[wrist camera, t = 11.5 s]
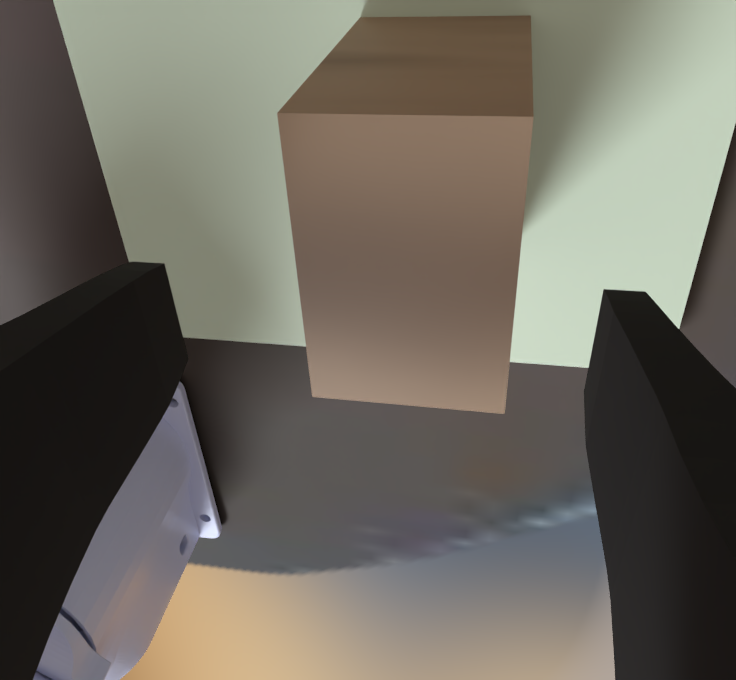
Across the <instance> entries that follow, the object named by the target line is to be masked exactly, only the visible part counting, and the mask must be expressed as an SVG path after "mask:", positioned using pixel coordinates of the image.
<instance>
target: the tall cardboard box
mask: <svg viewBox="0 0 736 680" xmlns="http://www.w3.org/2000/svg"><path fill="white" fill-rule="evenodd" d="M277 117H278V125H279V133H280V141H281V149H282V157H283V165H284V173H285V181H286V189H287V197H288V205H289V213H290V221H291V229H292V237H293V245H294V253H295V261H296V270H297V278H298V286H299V294H300V302H301V310H302V318H303V326H304V334H305V342H306V350H307V358H308V366H309V374H310V382H311V390H312V397H320V398H331V399H342V400H353V401H365V402H376V403H387V404H399V405H410V406H421V407H432V408H444V409H455V410H466V411H478V412H489V413H500V414H505V404H506V394H507V384H508V373H509V363H510V353H511V343H512V333H513V322H514V312H515V302H516V292H517V281H518V271H519V261H520V251H521V241H522V230H523V220H524V210H525V200H526V190H527V179H528V169H529V159H530V149H531V139H532V128H533V118H534V112H533V77H532V41H531V16H437V17H360V18H359V19H358V21H357V22H356V23H355V24H354V25H353V26H352V27H351V29H350V30H349V31H348V32H347V33H346V34H345V35H344V37H343V38H342V39H341V40H340V41H339V42H338V44H337V45H336V46H335V47H334V48H333V49H332V50H331V52H330V53H329V54H328V55H327V56H326V57H325V59H324V60H323V61H322V62H321V63H320V64H319V65H318V67H317V68H316V69H315V70H314V71H313V72H312V73H311V75H310V76H309V77H308V78H307V79H306V80H305V82H304V83H303V84H302V85H301V86H300V87H299V88H298V90H297V91H296V92H295V93H294V94H293V95H292V96H291V98H290V99H289V100H288V101H287V102H286V103H285V105H284V106H283V107H282V108H281V109H280V110H279V111H278V113H277Z"/></svg>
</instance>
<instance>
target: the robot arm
mask: <svg viewBox="0 0 736 680" xmlns="http://www.w3.org/2000/svg"><path fill="white" fill-rule="evenodd" d="M187 361H188V355H187V351H186V347H185V343H184V339H183V335H182V331H181V327H180V323H179V319H178V315H177V311H176V307H175V303H174V299H173V295H172V291H171V287H170V283H169V279H168V275H167V271H166V267H165V263H149V262H129V263H126V264H124V265H121V266H119V267H116V268H114V269H112V270H110V271H107V272H105V273H103V274H101V275H99V276H97V277H95V278H93V279H91V280H89V281H87V282H85V283H83V284H81V285H79V286H77V287H75V288H73V289H72V290H70V291H68V292H66V293H64V294H62V295H60V296H58V297H56V298H54V299H52V300H50V301H48V302H46V303H44V304H42V305H41V306H39V307H37V308H35V309H33V310H31V311H29V312H27V313H25V314H23V315H21V316H19V317H17V318H15V319H13V320H11V321H9V322H7V323H4V324H2V325H0V680H120V679H121V678H122V677H123V676H124V675H126V674H127V673H128V672H129V671H130V670H131V669H132V668H133V667H134V666H135V664H136V663H137V662H138V661H139V660H140V659H141V657H142V656H143V655H144V653H145V652H146V650H147V648H148V647H149V645H150V643H151V641H152V638H153V636H154V634H155V632H156V630H157V628H158V625H159V623H160V621H161V619H162V617H163V615H164V612H165V610H166V608H167V606H168V603H169V602H170V599H171V597H172V595H173V593H174V591H175V588H176V586H177V584H178V582H179V580H180V577H181V575H182V573H183V571H184V569H185V567H186V565H187V562H188V560H189V558H190V556H191V554H192V552H193V549H194V547H195V545H196V543H197V541H198V538H199V537H204V538H217V537H219V535H220V533H221V531H222V525H221V522H220V518H219V514H218V510H217V507H216V503H215V499H214V496H213V492H212V488H211V484H210V481H209V477H208V473H207V469H206V466H205V462H204V458H203V455H202V451H201V447H200V443H199V440H198V436H197V432H196V428H195V425H194V421H193V417H192V414H191V410H190V406H189V402H188V399H187V395H186V391H185V388H184V386H183V384H182V383H181V382H180V379H181V376H182V374H183V371H184V368H185V366H186V363H187ZM172 398H174V399H175V400H177V401H175V400H173V399H172ZM584 407H585V436H586V450H587V456H588V462H589V468H590V474H591V480H592V486H593V492H594V498H595V504H596V509H597V515H598V521H599V527H600V533H601V538H602V544H603V550H604V555H605V561H606V567H607V574H608V582H609V590H610V599H611V613H612V630H613V645H614V660H615V680H736V388H735V387H734V386H733V385H732V384H731V383H729V382H728V381H727V380H726V379H725V378H724V377H723V376H722V375H721V374H720V373H719V372H718V371H717V370H716V369H715V368H714V367H713V366H712V365H711V364H710V362H709V361H708V360H707V359H706V358H705V357H704V356H703V355H702V354H701V353H700V352H699V351H698V350H697V349H696V348H695V347H694V345H693V344H692V343H691V342H690V341H689V340H688V339H687V338H686V337H685V336H684V334H683V333H682V332H681V331H680V330H679V329H678V328H677V327H676V325H675V324H674V323H673V322H672V321H671V320H670V319H669V317H668V316H667V315H666V314H665V313H664V312H663V311H662V309H661V308H660V307H659V306H658V305H657V304H656V303H655V301H654V300H653V299H652V298H651V297H650V296H649V295H648V294H647V293H646V292H644V291H627V290H610V289H604V290H603V295H602V300H601V305H600V311H599V316H598V321H597V326H596V332H595V337H594V342H593V347H592V352H591V358H590V363H589V368H588V373H587V379H586V384H585V389H584Z"/></svg>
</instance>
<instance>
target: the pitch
mask: <svg viewBox="0 0 736 680" xmlns="http://www.w3.org/2000/svg"><path fill="white" fill-rule="evenodd" d="M53 2H54V5H55V9H56V12H57V16H58V19H59V22H60V26H61V29H62V33H63V36H64V40H65V43H66V47H67V50H68V53H69V57H70V60H71V64H72V67H73V71H74V74H75V78H76V81H77V85H78V88H79V91H80V95H81V98H82V102H83V105H84V109H85V112H86V116H87V119H88V122H89V126H90V129H91V133H92V136H93V140H94V143H95V147H96V150H97V153H98V157H99V160H100V164H101V167H102V171H103V174H104V178H105V181H106V185H107V188H108V191H109V195H110V198H111V202H112V205H113V209H114V212H115V216H116V219H117V222H118V226H119V229H120V233H121V236H122V240H123V243H124V247H125V250H126V254H127V257H128V260H129V262H149V263H165V267H166V271H167V275H168V279H169V283H170V287H171V291H172V295H173V299H174V303H175V307H176V311H177V315H178V319H179V323H180V327H181V331H182V335H183V337H186V338H199V339H213V340H226V341H239V342H253V343H266V344H279V345H293V346H306V342H305V334H304V326H303V318H302V310H301V302H300V294H299V286H298V278H297V270H296V261H295V253H294V245H293V237H292V229H291V221H290V213H289V205H288V197H287V189H286V181H285V173H284V165H283V157H282V149H281V141H280V133H279V125H278V117H277V113H278V111H279V110H280V109H281V108H282V107H283V106H284V105H285V103H286V102H287V101H288V100H289V99H290V98H291V96H292V95H293V94H294V93H295V92H296V91H297V90H298V88H299V87H300V86H301V85H302V84H303V83H304V82H305V80H306V79H307V78H308V77H309V76H310V75H311V73H312V72H313V71H314V70H315V69H316V68H317V67H318V65H319V64H320V63H321V62H322V61H323V60H324V59H325V57H326V56H327V55H328V54H329V53H330V52H331V50H332V49H333V48H334V47H335V46H336V45H337V44H338V42H339V41H340V40H341V39H342V38H343V37H344V35H345V34H346V33H347V32H348V31H349V30H350V29H351V27H352V26H353V25H354V24H355V23H356V22H357V21H358V19H359V18H360V17H437V16H531V41H532V77H533V112H534V118H533V128H532V139H531V149H530V159H529V169H528V179H527V190H526V200H525V210H524V220H523V230H522V241H521V251H520V261H519V271H518V281H517V292H516V302H515V312H514V322H513V333H512V343H511V353H510V362H519V363H532V364H545V365H558V366H572V367H585V368H589V363H590V358H591V352H592V347H593V342H594V337H595V332H596V326H597V321H598V316H599V311H600V305H601V300H602V295H603V290H604V289H610V290H627V291H644V292H646V293H647V294H648V295H649V296H650V297H651V298H652V299H653V300H654V301H655V303H656V304H657V305H658V306H659V307H660V308H661V309H662V311H663V312H664V313H665V314H666V315H667V316H668V317H669V319H670V320H671V321H672V322H673V323H674V324H675V325H676V327H677V328H678V329H679V328H680V324H681V321H682V317H683V313H684V310H685V306H686V302H687V299H688V295H689V291H690V288H691V284H692V280H693V277H694V273H695V269H696V266H697V262H698V259H699V255H700V251H701V248H702V244H703V240H704V237H705V233H706V229H707V226H708V222H709V218H710V215H711V211H712V208H713V204H714V200H715V197H716V193H717V189H718V186H719V182H720V178H721V175H722V171H723V167H724V164H725V160H726V156H727V153H728V149H729V146H730V142H731V138H732V135H733V131H734V127H735V124H736V0H53Z"/></svg>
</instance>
